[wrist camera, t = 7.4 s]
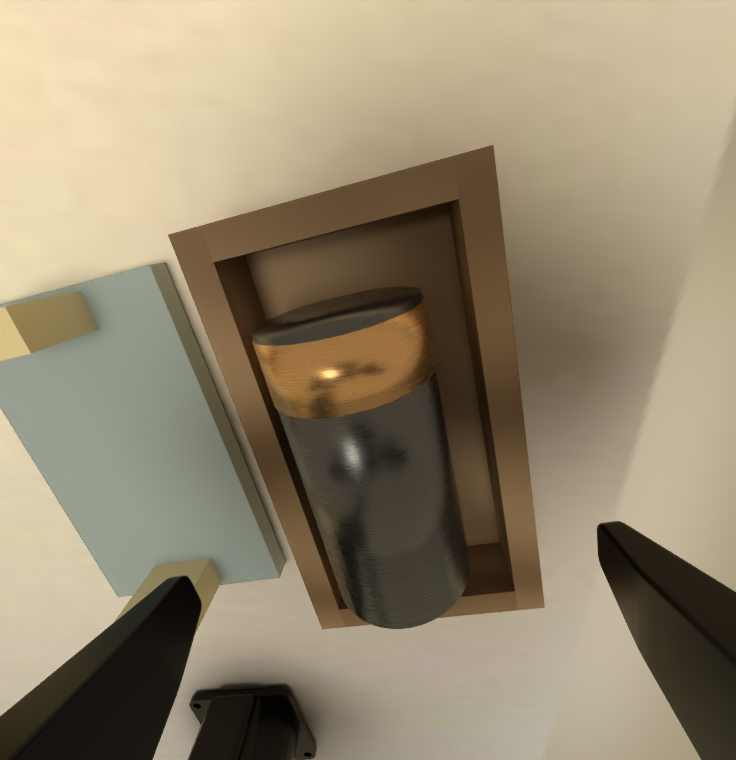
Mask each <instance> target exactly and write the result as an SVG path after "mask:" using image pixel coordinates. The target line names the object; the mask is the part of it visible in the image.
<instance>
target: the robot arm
mask: <svg viewBox="0 0 736 760" xmlns="http://www.w3.org/2000/svg"><path fill="white" fill-rule="evenodd" d="M597 542H598V557H599V562H600V565H601V567H602V570H603V572H604V574H605V576H606V579H607V581H608V583H609V585H610V587H611V590H612V592H613V594H614V596H615V599H616V601H617V603H618V605H619V607H620V610H621V612H622V614H623V616H624V619H625V621H626V623H627V625H628V627H629V630H630V632H631V634H632V636H633V638H634V640H635V643H636V645H637V647H638V649H639V651H640V653H641V654H642V656H643V658H644V660H645V662H646V664H647V665H648V667H649V669H650V671H651V672H652V674H653V676H654V678H655V680H656V681H657V683H658V685H659V687H660V688H661V690H662V692H663V694H664V695H665V697H666V699H667V701H668V702H669V704H670V706H671V707H672V709H673V711H674V713H675V715H676V716H677V718H678V720H679V722H680V723H681V725H682V727H683V728H684V730H685V732H686V734H687V736H688V737H689V739H690V741H691V742H692V744H693V746H694V748H695V749H696V751H697V753H698V755H699V756H700V758H701V760H736V592H735V591H733V590H731V589H730V588H728V587H727V586H725V585H724V584H722V583H720V582H719V581H717V580H715V579H713V578H712V577H711V576H709V575H707V574H706V573H704V572H702V571H701V570H699V569H698V568H696V567H694V566H692V565H691V564H690V563H688V562H686V561H684V560H683V559H681V558H680V557H678V556H677V555H674V554H673V553H672V552H670V551H668V550H667V549H665V548H664V547H662V546H660V545H659V544H657V543H656V542H654V541H652V540H651V539H649V538H647V537H646V536H644V535H643V534H641V533H639V532H638V531H636V530H634V529H633V528H631V527H630V526H628V525H626V524H625V523H622V522H620V521H614V522H606V523H600V524H599V525H598V527H597ZM201 609H202V602H201V599H200V597H199V595H198V593H197V591H196V589H195V587H194V585H193V583H192V581H191V580H190V578H189V577H188V576H185V575H182V576H174V577H170V578H168V579H166V580H165V581H164V582H163V583H161V584H160V585H159V586H158V587H157V588H155V589H154V590H153V591H152V592H151V593H149V594H148V595H147V596H146V597H144V598H143V599H142V600H141V601H140V602H138V603H137V604H136V605H135V606H134V607H132V608H131V609H130V610H129V611H127V612H126V613H125V614H124V615H123V616H121V617H120V618H119V619H118V620H117V621H115V622H114V623H113V624H112V625H111V626H109V627H108V628H107V629H106V630H104V631H103V632H102V633H101V634H100V635H98V636H97V637H96V638H95V639H94V640H92V641H91V642H90V643H89V644H87V645H86V646H85V647H84V648H83V649H81V650H80V651H79V652H78V653H77V654H75V655H74V656H73V657H72V658H70V659H69V660H68V661H67V662H66V663H64V664H63V665H62V666H61V667H60V668H58V669H57V670H56V671H55V672H54V673H52V674H51V675H50V676H49V677H47V678H46V679H45V680H44V681H43V682H41V683H40V684H39V685H38V686H37V687H35V688H34V689H33V690H32V691H30V692H29V693H28V694H27V695H26V696H24V697H23V698H22V699H21V700H20V701H18V702H17V703H16V704H15V705H13V706H12V707H11V708H10V709H9V710H7V711H6V712H5V713H4V714H3V715H1V716H0V760H152V759H153V757H154V754H155V751H156V749H157V746H158V743H159V741H160V738H161V735H162V733H163V730H164V727H165V725H166V722H167V719H168V717H169V714H170V711H171V709H172V706H173V703H174V701H175V698H176V695H177V692H178V689H179V687H180V683H181V680H182V677H183V674H184V670H185V667H186V663H187V660H188V656H189V653H190V649H191V646H192V642H193V639H194V635H195V632H196V628H197V624H198V621H199V617H200V614H201ZM189 705H190V708H191V709H192V711H193V712H194V714H195V716H196V717H197V719H198V721H199V722H200V724H201V727H200V730H199V732H198V735H197V737H196V740H195V742H194V745H193V747H192V750H191V752H190V755H189V758H188V760H305V759H313V758H315V756H316V749H317V747H316V745H315V743H314V740H313V738H312V736H311V734H310V732H309V730H308V728H307V725H306V723H305V721H304V719H303V717H302V715H301V713H300V710H299V708H298V706H297V704H296V702H295V700H294V698H293V695H292V693H291V692H290V690H288V689H287V688H283V687H279V688H265V689H252V690H239V691H225V692H212V693H199V694H194V695H193V697H192V699H191V701H190V704H189Z"/></svg>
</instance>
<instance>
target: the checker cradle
mask: <svg viewBox="0 0 736 760" xmlns="http://www.w3.org/2000/svg"><path fill="white" fill-rule="evenodd" d="M0 408H1V410H2V411H3V413H4V415H5V416H6V418H7V419H8V421H9V423H10V424H11V426H12V427H13V429H14V431H15V432H16V434H17V435H18V437H19V439H20V440H21V442H22V444H23V445H24V447H25V448H26V450H27V452H28V453H29V455H30V456H31V458H32V460H33V461H34V463H35V464H36V466H37V468H38V469H39V471H40V473H41V474H42V476H43V477H44V479H45V481H46V482H47V484H48V485H49V487H50V489H51V490H52V492H53V493H54V495H55V497H56V498H57V500H58V501H59V503H60V505H61V506H62V508H63V510H64V511H65V513H66V514H67V516H68V518H69V519H70V521H71V522H72V524H73V526H74V527H75V529H76V530H77V532H78V534H79V535H80V537H81V539H82V540H83V542H84V543H85V545H86V547H87V548H88V550H89V551H90V553H91V555H92V556H93V558H94V559H95V561H96V563H97V564H98V566H99V568H100V569H101V571H102V572H103V574H104V576H105V577H106V579H107V580H108V582H109V584H110V585H111V587H112V588H113V590H114V592H115V593H116V595H117V596H118V597H124V596H132V595H133V597H132V598H131V599H130V601H129V602H128V604H127V605H126V606H125V608H124V609H123V611H122V612H121V613H120V615H119V616H118V618H117V619H116V620H115V621H117V620H118V619H119V618H120V617H121V616H123V615H124V614H125V613H126V612H127V611H129V610H130V609H131V608H132V607H134V606H135V605H136V604H137V603H138V602H140V601H141V600H142V599H143V598H144V597H146V596H147V595H148V594H149V593H151V592H152V591H153V590H154V589H155V588H157V587H158V586H159V585H160V584H161V583H163V582H164V581H165V580H166V579H168V578H170V577H174V576H182V575H185V576H188V577H189V578H190V580H191V581H192V583H193V585H194V587H195V589H196V591H197V593H198V595H199V597H200V599H201V602H202V609H201V614H200V617H199V621H198V624H197V628H196V631H197V629H198V627H199V625H200V623H201V621H202V619H203V617H204V615H205V613H206V611H207V609H208V607H209V605H210V603H211V601H212V599H213V597H214V595H215V593H216V591H217V589H218V587H219V585H223V584H231V583H240V582H248V581H256V580H265V579H273V578H280V576H281V573H282V570H283V567H284V564H285V559H284V556H283V554H282V552H281V549H280V547H279V544H278V542H277V539H276V537H275V534H274V532H273V529H272V527H271V524H270V522H269V519H268V517H267V514H266V512H265V509H264V507H263V504H262V502H261V499H260V497H259V494H258V492H257V489H256V487H255V485H254V482H253V480H252V477H251V475H250V472H249V470H248V467H247V465H246V462H245V460H244V457H243V455H242V452H241V450H240V447H239V445H238V442H237V440H236V437H235V435H234V432H233V430H232V427H231V425H230V422H229V420H228V418H227V415H226V413H225V410H224V408H223V405H222V403H221V400H220V398H219V395H218V393H217V390H216V388H215V385H214V383H213V380H212V378H211V375H210V373H209V370H208V368H207V365H206V363H205V360H204V358H203V355H202V353H201V350H200V348H199V346H198V343H197V341H196V338H195V336H194V333H193V331H192V328H191V326H190V323H189V321H188V318H187V316H186V313H185V311H184V308H183V306H182V303H181V301H180V298H179V296H178V293H177V291H176V288H175V286H174V283H173V281H172V279H171V276H170V274H169V271H168V269H167V266H166V264H165V263H159V264H153V265H148V266H144V267H140V268H137V269H133V270H129V271H125V272H122V273H118V274H114V275H110V276H106V277H103V278H99V279H95V280H91V281H88V282H84V283H80V284H76V285H72V286H69V287H65V288H61V289H57V290H54V291H50V292H46V293H42V294H39V295H35V296H31V297H27V298H23V299H20V300H16V301H12V302H8V303H5V304H1V305H0ZM195 633H196V632H195Z"/></svg>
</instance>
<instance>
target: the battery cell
mask: <svg viewBox="0 0 736 760" xmlns="http://www.w3.org/2000/svg"><path fill="white" fill-rule="evenodd" d="M251 334H252V337H253V338H252V343H253V346H254V349H255V352H256V355H257V357H258V360H259V363H260V366H261V369H262V372H263V375H264V378H265V380H266V383H267V386H268V389H269V392H270V395H271V398H272V401H273V404H274V406H275V408H276V409H277V410H278V413H279V416H280V419H281V421H282V424H283V427H284V430H285V433H286V436H287V439H288V442H289V445H290V448H291V450H292V453H293V456H294V459H295V462H296V465H297V468H298V471H299V474H300V477H301V479H302V482H303V485H304V488H305V491H306V494H307V497H308V500H309V503H310V506H311V508H312V511H313V514H314V517H315V520H316V523H317V526H318V529H319V532H320V535H321V537H322V540H323V543H324V546H325V549H326V552H327V555H328V558H329V561H330V564H331V566H332V569H333V572H334V575H335V578H336V581H337V584H338V587H339V590H340V593H341V595H342V598H343V600H344V602H345V604H346V605H347V607H348V608H349V609H350V610H351V611H352V612H353V613H354V614H355V615H356V616H357V617H359V618H360V619H362V620H363V621H365V622H367V623H370V624H372V625H375V626H378V627H383V628H390V629H403V628H411V627H415V626H419V625H422V624H425V623H428V622H430V621H432V620H434V619H436V618H438V617H439V616H441V615H442V614H444V613H445V612H446V611H448V610H449V609H450V608H451V607H452V606H453V605H454V604H455V603H456V602H457V600H458V599H459V598H460V597H461V595H462V593H463V592H464V590H465V588H466V585H467V583H468V579H469V575H470V559H469V553H468V548H467V542H466V537H465V531H464V526H463V520H462V514H461V509H460V503H459V498H458V492H457V487H456V481H455V475H454V470H453V464H452V459H451V453H450V448H449V442H448V436H447V431H446V425H445V420H444V414H443V409H442V403H441V397H440V392H439V386H438V381H437V375H436V370H435V369H436V360H435V354H434V349H433V343H432V337H431V332H430V326H429V321H428V315H427V309H426V304H425V298H424V296H423V295H422V292H421V289H419V288H416V287H406V286H403V287H388V288H380V289H373V290H367V291H362V292H357V293H352V294H347V295H343V296H339V297H334V298H330V299H327V300H323V301H319V302H316V303H312V304H309V305H306V306H303V307H300V308H297V309H294V310H291V311H288V312H286V313H283V314H280V315H278V316H276V317H273V318H271V319H269V320H267V321H265V322H263V323H261V324H260V325H258V326H257V327H255V328H254V329H253V330H252V332H251Z"/></svg>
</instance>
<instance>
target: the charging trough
mask: <svg viewBox="0 0 736 760" xmlns="http://www.w3.org/2000/svg"><path fill="white" fill-rule="evenodd" d="M168 236H169V238H170V241H171V243H172V246H173V248H174V251H175V254H176V256H177V259H178V261H179V264H180V266H181V269H182V271H183V274H184V277H185V279H186V282H187V284H188V287H189V289H190V292H191V294H192V297H193V300H194V302H195V305H196V307H197V310H198V312H199V315H200V317H201V320H202V323H203V325H204V328H205V330H206V333H207V335H208V338H209V340H210V343H211V346H212V348H213V351H214V353H215V356H216V358H217V361H218V363H219V366H220V369H221V371H222V374H223V376H224V379H225V381H226V384H227V387H228V389H229V392H230V394H231V397H232V399H233V402H234V404H235V407H236V410H237V412H238V415H239V417H240V420H241V422H242V425H243V427H244V430H245V433H246V435H247V438H248V440H249V443H250V445H251V448H252V450H253V453H254V456H255V458H256V461H257V463H258V466H259V468H260V471H261V473H262V476H263V479H264V481H265V484H266V486H267V489H268V491H269V494H270V496H271V499H272V502H273V504H274V507H275V509H276V512H277V514H278V517H279V520H280V522H281V525H282V527H283V530H284V532H285V535H286V537H287V540H288V543H289V545H290V548H291V550H292V553H293V555H294V558H295V560H296V563H297V566H298V568H299V571H300V573H301V576H302V578H303V581H304V583H305V586H306V589H307V591H308V594H309V596H310V599H311V601H312V604H313V606H314V609H315V612H316V614H317V617H318V619H319V622H320V624H321V627H322V629H329V628H339V627H350V626H360V625H370V623H367V622H365V621H363V620H362V619H360V618H359V617H357V616H356V615H355V614H354V613H353V612H352V611H351V610H350V609H349V608H348V607H347V605H346V604H345V602H344V600H343V598H342V595H341V593H340V590H339V587H338V584H337V581H336V578H335V575H334V572H333V569H332V566H331V564H330V561H329V558H328V555H327V552H326V549H325V546H324V543H323V540H322V537H321V535H320V532H319V529H318V526H317V523H316V520H315V517H314V514H313V511H312V508H311V506H310V503H309V500H308V497H307V494H306V491H305V488H304V485H303V482H302V479H301V477H300V474H299V471H298V468H297V465H296V462H295V459H294V456H293V453H292V450H291V448H290V445H289V442H288V439H287V436H286V433H285V430H284V427H283V424H282V421H281V419H280V416H279V413H278V410H277V409H276V408H275V406H274V404H273V401H272V398H271V395H270V392H269V389H268V386H267V383H266V380H265V378H264V375H263V372H262V369H261V366H260V363H259V360H258V357H257V355H256V352H255V349H254V346H253V343H252V338H253V337H252V334H251V332H252V330H253V329H254V328H255V327H257V326H258V325H260V324H261V323H263V322H265V321H267V320H269V319H271V318H273V317H276V316H278V315H280V314H283V313H286V312H288V311H291V310H294V309H297V308H300V307H303V306H306V305H309V304H312V303H316V302H319V301H323V300H327V299H330V298H334V297H339V296H343V295H347V294H352V293H357V292H362V291H367V290H373V289H380V288H388V287H403V286H406V287H416V288H419V289H421V292H422V295H423V296H424V298H425V304H426V309H427V315H428V321H429V326H430V332H431V337H432V343H433V349H434V354H435V360H436V369H435V370H436V375H437V381H438V386H439V392H440V397H441V403H442V409H443V414H444V420H445V425H446V431H447V436H448V442H449V448H450V453H451V459H452V464H453V470H454V475H455V481H456V487H457V492H458V498H459V503H460V509H461V514H462V520H463V526H464V531H465V537H466V542H467V548H468V553H469V559H470V575H469V579H468V583H467V585H466V588H465V590H464V592H463V593H462V595H461V597H460V598H459V599H458V600H457V602H456V603H455V604H454V605H453V606H452V607H451V608H450V609H449V610H448V611H446V612H445V613H444V614H442V615H441V616H439V617H438V618H442V617H452V616H462V615H472V614H483V613H493V612H503V611H513V610H524V609H534V608H544V598H543V589H542V580H541V571H540V562H539V553H538V544H537V535H536V526H535V517H534V508H533V499H532V490H531V481H530V472H529V463H528V454H527V445H526V436H525V427H524V418H523V409H522V400H521V391H520V382H519V373H518V364H517V355H516V346H515V337H514V328H513V319H512V310H511V301H510V292H509V283H508V274H507V265H506V256H505V247H504V238H503V229H502V220H501V211H500V202H499V193H498V184H497V175H496V166H495V157H494V148H493V145H492V146H488V147H484V148H481V149H477V150H473V151H470V152H466V153H463V154H459V155H455V156H452V157H448V158H444V159H441V160H437V161H434V162H430V163H426V164H423V165H419V166H416V167H412V168H408V169H405V170H401V171H397V172H394V173H390V174H387V175H383V176H379V177H376V178H372V179H368V180H365V181H361V182H358V183H354V184H350V185H347V186H343V187H340V188H336V189H332V190H329V191H325V192H321V193H318V194H314V195H311V196H307V197H303V198H300V199H296V200H292V201H289V202H285V203H282V204H278V205H274V206H271V207H267V208H263V209H260V210H256V211H253V212H249V213H245V214H242V215H238V216H235V217H231V218H227V219H224V220H220V221H216V222H213V223H209V224H206V225H202V226H198V227H195V228H191V229H187V230H184V231H180V232H177V233H173V234H169V235H168Z"/></svg>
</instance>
